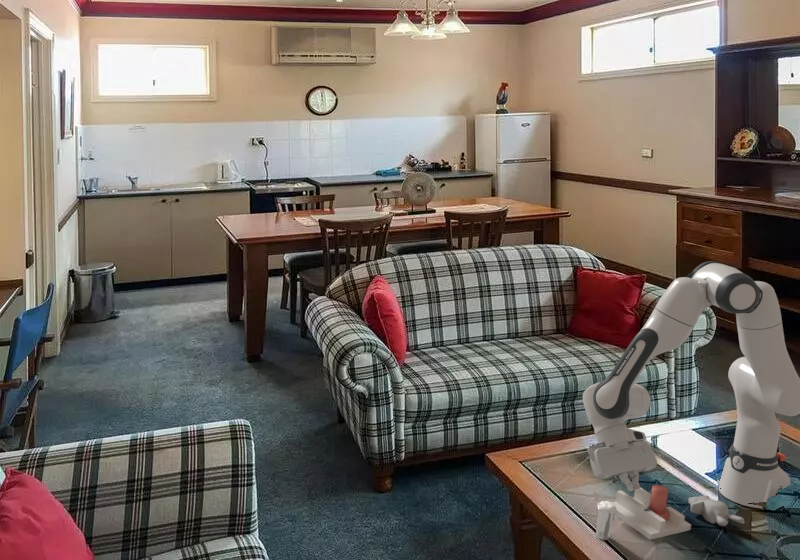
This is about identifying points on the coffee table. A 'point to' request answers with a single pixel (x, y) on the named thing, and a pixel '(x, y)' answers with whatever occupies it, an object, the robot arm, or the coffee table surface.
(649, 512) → the white slider track base
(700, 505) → the bunny figurine
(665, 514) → the red plug
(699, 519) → the coffee table surface
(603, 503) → the milkshake
